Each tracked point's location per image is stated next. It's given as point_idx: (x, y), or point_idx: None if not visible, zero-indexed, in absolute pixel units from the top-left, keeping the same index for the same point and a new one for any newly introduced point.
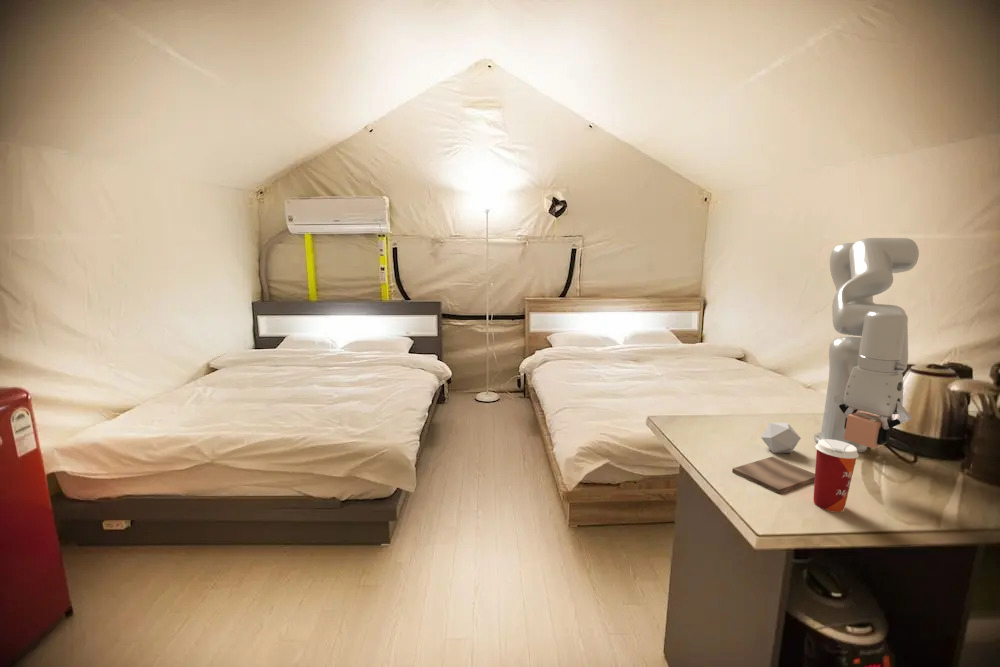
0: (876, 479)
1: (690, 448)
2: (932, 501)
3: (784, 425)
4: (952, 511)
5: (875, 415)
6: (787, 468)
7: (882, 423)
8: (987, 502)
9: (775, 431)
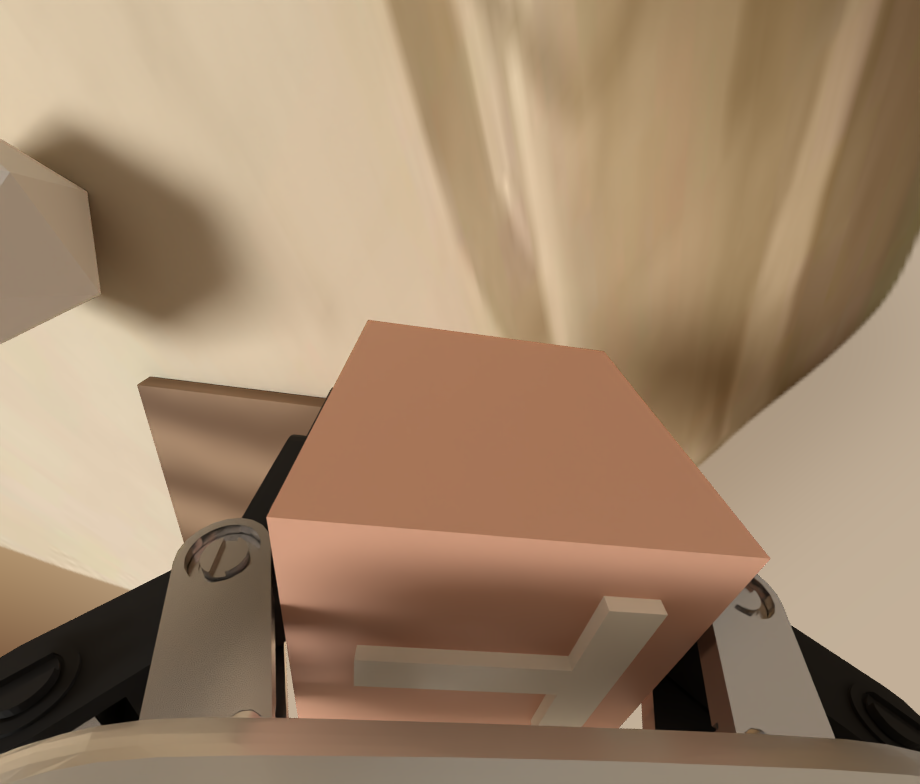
0: (505, 171)
1: None
2: (728, 229)
3: None
4: (787, 270)
5: (541, 566)
6: (257, 445)
7: (651, 702)
8: None
9: None
